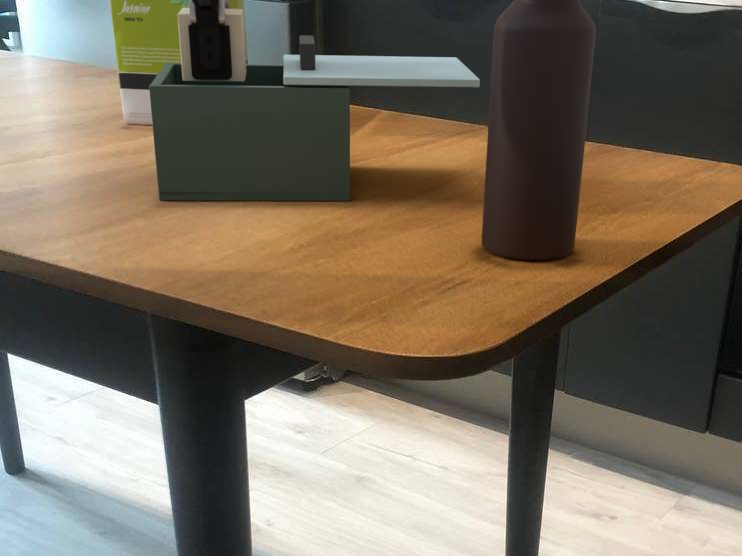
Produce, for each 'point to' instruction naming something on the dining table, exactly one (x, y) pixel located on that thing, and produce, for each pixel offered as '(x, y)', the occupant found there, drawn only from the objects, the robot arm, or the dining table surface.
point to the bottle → (537, 128)
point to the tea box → (146, 48)
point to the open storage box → (250, 138)
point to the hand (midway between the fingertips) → (214, 71)
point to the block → (236, 40)
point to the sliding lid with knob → (373, 70)
